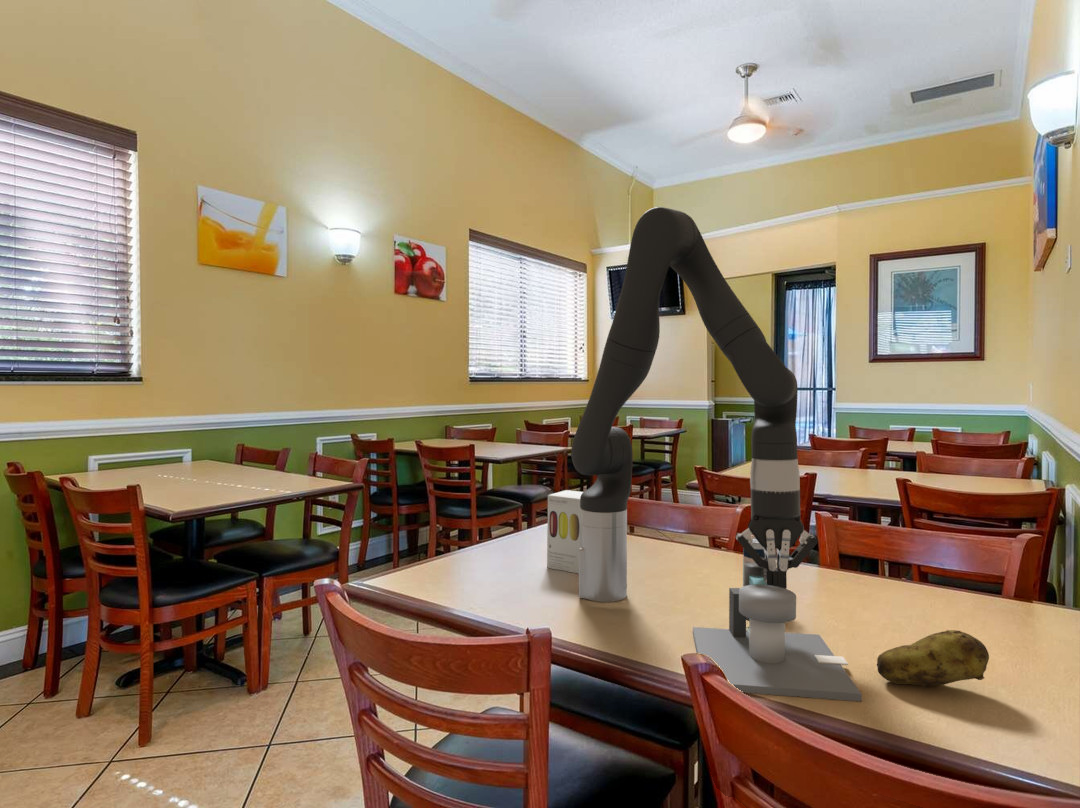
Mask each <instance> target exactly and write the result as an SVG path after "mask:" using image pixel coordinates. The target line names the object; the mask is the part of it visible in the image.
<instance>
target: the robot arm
mask: <svg viewBox="0 0 1080 808" xmlns="http://www.w3.org/2000/svg"><path fill="white" fill-rule="evenodd" d="M628 251H629V252H628V257H627V263H626V269H625V274H624V279H623V284H622V286H621V287H622V288H621V290H620V294H619V298H618V299H617V300H618V301H617V304H616V308H615V311H614V314H613V320H612V323H611V326H610V329H609V331H608V335H607V338H606V342H605V345H604V348H603V352H602V354H601V355H602V356H601V358H600V359H601V360H600V364H599V368H598V371H597V374H596V378H595V380H594V383H593V388H592V390H591V393H590V395H589V399H588V401H587V405H586V406H585V409H584V412H583V414H582V416H581V419H580V421H579V424H578V426H577V428H576V431H575V434H574V437H573V440H572V444H571V455H570V456H571V460H572V464H573V467H574V469H575V470H576V471H577V472H578V473H579V474H581V475H583V476H597V477H596V480H595V481H594V483H593V484H592V485H591V486H590V487H589V488H588V489H586V490H585V491H582V492H583V493H582V495H581V497H580V548H579V574H578V598H579V599H586V600H589V601H594V602H602V603H605V602H606V603H610V602H617V601H621V600H622V601H623V600H624V599H626V597H627V595H628V590H627V589H628V581H627V580H628V579H627V578H628V576H627V575H628V501H629V498H630V496H631V491H632V477H633V476H632V475H633V461H634V459H633V455H634V454H633V445H632V441H631V438H630V436H629V435H628V433H627V432H626V430H624V429H623V428H621V427H617V426H613V424H614V422H615V420H616V418H617V415H618V413H619V412H620V411H621V409H622V408H623V406H624V405H625V404H626V403H627V401H629V399H630V398H631V397H632V396H633V394H634V393H635V392H636V391H637V390H638V388H640V386H642V384H643V382H644V381H645V380H646V378H647V376H648V374H649V372H650V370H651V367H652V364H653V361H654V359H655V356H656V352H657V349H658V345H659V340H660V330H661V329H660V327H661V326H660V296H661V293H662V292H661V291H662V288H663V285H664V282H665V279H666V276H667V273H668V271H669V268H670V267H671V269H672V270H673V271H674V272H675V273H677V275H678V276H679V277H680V278H681V280H683V282H684V283H685V285H686V286H687V288H688V290H689V291H690V293H691V295H692V297H693V299H694V301H695V305H696V307H697V310H698V314H699V316H700V318H701V320H702V323H703V325H704V327H705V328H706V331H708V333H709V335H710V337H711V338H712V340H713V341H714V342H715V343H716V346H718V348H719V350H720V351H721V352H722V354H723V355H724V356H725V358H726V359H728V361H729V362H730V364H731V365H732V367H733V369H734V371H735V372H736V374H737V376H738V379H739V380H740V382H741V383H742V385H743V386H744V387H743V388H745V390H746V391H747V393H748V394H749V396H750V397H751V398H752V399H753V407H754V408H753V410H754V411H753V412H754V422H753V423H754V425H753V426H752V429H751V440H750V441H751V443H750V444H751V465H750V471H749V472H750V479H749V484H750V485H749V486H750V514H751V515H750V520H749V522H748V523H747V528H746V529H745V530H743V531H742V532H741V533H740V532H737V533H736V534H735V539H736V540H737V542H738V543H739V544H740V546H741V547H742V549H743V548H744V549H745V550H746V552H747V553H748V554H749V555H750V556H751V558H752V559H753V560H754V561H755V563H756V564H757V565H758V566H759V567H763V568H766V571H767V585H771V586H777V587H781V588H785V589H787V587H788V586H787V585H788V584H787V578H788V577H787V572H788V570H790V569H792V568H794V569H796V568H797V569H798V567H799V566H800V565H801V564H802V562H803V561H804V560H805V558H806V557H807V556H808V555H809V554H810V553H811V551H813V549H814V548H815V546H816V545H818V542H819V540H818V538H817V537H816V536H814V535H813V534H810V533H809V532H808V531H806V530H805V526H804V524H803V522H802V520H801V519H802V518H801V487H800V486H801V485H800V484H801V483H800V482H801V481H800V480H801V479H800V469H799V460H798V435H797V428H796V426H797V425H796V422H797V412H798V381H797V378H796V375H795V374H794V372H793V371H791V370H790V369H789V368H788V367H787V366H786V365H785V363H783V361H782V360H781V359H780V358H779V356H778V355H777V354H776V352H775V351H774V350H773V349H772V347H771V346H770V345H769V344H768V342H767V339H766V337H765V335H764V332H763V331H762V330H761V328H760V327H759V325H758V324H757V322H756V321H755V320H754V318H753V317H752V315H751V314H750V312H749V311H748V310H747V309H746V307H745V306H744V305H743V303H742V302H741V301H740V300H739V299H740V298H738V296H737V295H736V293H735V292H734V291H733V289H732V287H731V286H730V285H729V283H728V282H727V280H726V278H725V277H724V276H723V273H721V270H720V269H719V267H718V265H717V264H716V262H715V260H714V258H713V256H712V254H711V252H710V250H709V247H708V246H707V244H706V242H705V240H704V238H703V235H702V233H701V232H700V230H699V227H698V226H697V224H696V222H695V220H694V219H693V217H691V216H690V215H689V214H687V213H685V212H683V211H680V210H677V209H672V208H669V207H665V206H656V207H653V208H650V209H648V210H647V211H645V212H644V213H643V214H641V216H640V217H639V219H638V220H637V222H636V224H635V226H634V229H633V233H632V237H631V241H630V246H629V250H628ZM752 535H753V537H752ZM752 538H756V539H757V541H758V542H759V543H760V544H761V546H762V547H764V553H765V559H764V558H762V557H760V555H759V554H758V553H757V552H756V551H755V549H754V548H753V547H752V546H751V545H750V544H752V542H753V540H752ZM797 540H798V541H799V544H798V545H797V546H796V548H795V549H794V551H793V552H792V553H791V554H790V548H792V547H793V546H794V544H795V543H796V542H797Z"/></svg>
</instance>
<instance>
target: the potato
mask: <svg viewBox="0 0 1080 808" xmlns="http://www.w3.org/2000/svg"><path fill="white" fill-rule="evenodd" d="M989 660H990V654H989V651H988V649H987V647H986V645H985V644H984V643H983V642H982V641H981V640H979V638H976V637H975V636H973V635H971V634H969V633H967V632H963V631H961V630H956V629H955V630H954V629H953V630H951V629H950V630H947V629H946V630H945V631H940V632H936V633H931V634H929V635H927V636H925V637H923V638H921V639H918V640H917V641H915V642H913V643H911V644H906V645H900V646H896V647H894V648H891V649H887V650H884V652H882V653H880V654H879V655H878V656H877V660H876V662H877V663H876V666H877V671H878V673H879V675H880V676H881V677H882V678H883V679H885V680H886V681H889V682H890V683H893V684H896V685H912V686H913V685H914V686H919V687H920V686H922V687H936V686H937V687H938V686H944V685H948V684H951V683H955V682H959V681H967V680H968V681H969V680H973V679H976V680H978V681H982V680H984V679H985V677H984V674H985V672H986V670H987V665H988V664H989Z"/></svg>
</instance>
